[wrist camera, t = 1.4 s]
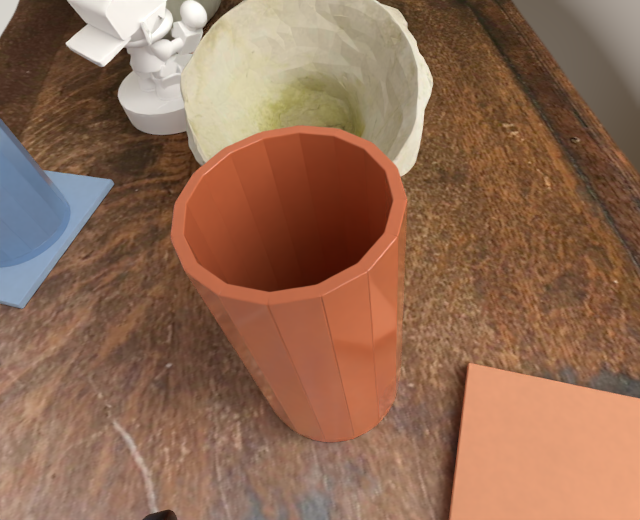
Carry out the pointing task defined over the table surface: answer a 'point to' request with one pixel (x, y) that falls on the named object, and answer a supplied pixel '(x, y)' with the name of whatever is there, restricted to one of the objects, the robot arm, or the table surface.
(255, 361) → the terracotta cup
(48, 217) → the blue cup
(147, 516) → the robot arm
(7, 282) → the blue mat
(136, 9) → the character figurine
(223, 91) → the bowl
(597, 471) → the peach mat
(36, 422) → the table surface
